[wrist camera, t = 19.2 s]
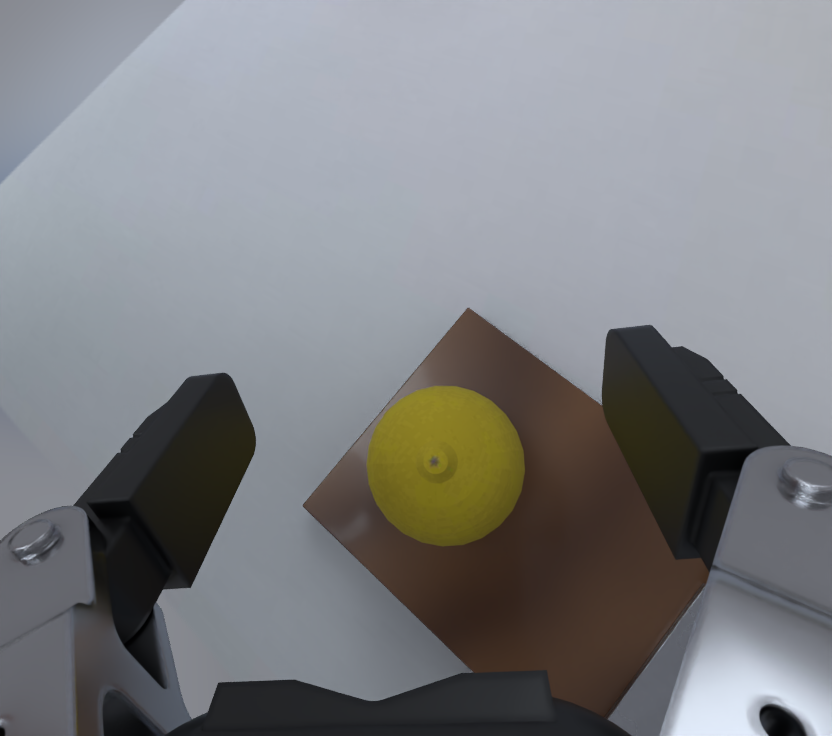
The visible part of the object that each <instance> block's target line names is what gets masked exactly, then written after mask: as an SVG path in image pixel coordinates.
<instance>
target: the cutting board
mask: <svg viewBox="0 0 832 736" xmlns="http://www.w3.org/2000/svg"><path fill="white" fill-rule="evenodd" d="M433 386H457V387H461V388H465V389H468V390H472V391H475V392H477V393H479V394H480V395H482V396H484V397H486V398H488V399H489V400H491V401H492V402H493V403H494V404H495V405H497V406H498V407H499V408H500V409H501V410H502V411H503V412H504V413H505V414H506V415H507V417H508V418H509V420H510V421H511V423H512V424H513V426H514V428H515V429H516V431H517V433H518V436H519V439H520V442H521V445H522V448H523V451H524V464H525V474H524V480H523V485H522V491H521V493H520V496H519V498H518V500H517V502H516V504H515V506H514V509H513V511H512V512H511V513H510V514H509V515H508V516H507V518H506V519H505V520H504V521H503V522H502V524H501V525H500V526H499V527H497V528H496V529H494V530H493V531H492V532H490V533H489V534H487V535H486V536H485V537H483V538H481V539H478V540H475V541H473V542H470V543H467V544H464V545H456V546H437V545H432V544H427V543H422V542H420V541H418V540H416V539H414V538H412V537H410V536H408V535H405V534H403V533H402V532H401V531H400V530H399V529H397V528H396V527H395V526H394V525H393V524H392V523H391V522H389V521H388V520H387V518H386V517H385V516H384V514H383V513H382V511H381V510H380V508H379V507H378V506H377V504H376V502H375V499H374V497H373V494H372V492H371V489H370V486H369V482H368V474H367V456H368V448H369V444H370V441H371V438H372V435H373V433H374V430H375V427H376V426H377V425H378V423H379V422H380V420H381V419H382V417H383V416H384V414H385V413H386V412H387V411H388V410H389V409H390V408H391V407H392V406H393V405H394V404H396V403H397V402H398V401H399V400H400V399H402V398H404V397H405V396H407V395H409V394H411V393H413V392H415V391H417V390H420V389H425V388H429V387H433ZM303 507H304V508H305V509H306V510H307V511H308V512H309V513H310V514H311V515H312V516H313V517H314V518H315V519H316V520H317V521H318V522H319V523H320V524H322V525H323V526H324V527H325V528H326V529H327V530H328V531H329V532H330V533H331V534H332V535H333V536H334V537H335V538H336V539H337V540H338V541H339V542H340V543H341V544H342V545H343V546H344V547H345V548H346V549H347V550H348V551H349V552H350V553H351V554H352V555H353V556H354V557H355V558H356V559H357V560H359V561H360V562H361V563H362V564H363V565H364V566H365V567H366V568H367V569H368V570H369V571H370V572H371V573H372V574H373V575H374V576H375V577H376V578H377V579H378V580H379V581H380V582H381V583H382V584H383V585H384V586H385V587H386V588H387V589H388V590H389V591H390V592H391V593H392V594H393V595H394V596H395V597H397V598H398V599H399V600H400V601H401V602H402V603H403V604H404V605H405V606H406V607H407V608H408V609H409V610H410V611H411V612H412V613H413V614H414V615H415V616H416V617H417V618H418V619H419V620H420V621H421V622H422V623H423V624H424V625H425V626H426V627H427V628H428V629H429V630H430V631H431V632H432V633H434V634H435V635H436V636H437V637H438V638H439V639H440V640H441V641H442V642H443V643H444V644H445V645H446V646H447V647H448V648H449V649H450V650H451V651H452V652H453V653H454V654H455V655H456V656H457V657H458V658H459V659H460V660H461V661H462V662H463V663H464V664H465V665H466V666H467V667H468V668H469V669H471V670H472V671H473V672H474V673H482V672H509V671H535V670H547V674H548V679H549V684H550V689H551V695H552V697H554V698H558V699H562V700H565V701H569V702H572V703H574V704H577V705H579V706H581V707H584V708H586V709H589V710H591V711H593V712H595V713H597V714H599V715H600V716H602V717H605V716H606V714H607V713H608V712H609V710H610V709H611V708H612V706H613V705H614V704H615V702H616V701H617V699H618V698H619V697H620V695H621V694H622V693H623V691H624V690H625V689H626V687H627V686H628V684H629V683H630V682H631V680H632V679H633V678H634V676H635V675H636V674H637V672H638V671H639V669H640V668H641V667H642V665H643V664H644V663H645V661H646V660H647V659H648V657H649V656H650V655H651V653H652V652H653V650H654V649H655V648H656V646H657V645H658V644H659V642H660V641H661V640H662V638H663V637H664V635H665V634H666V633H667V631H668V630H669V629H670V627H671V626H672V625H673V623H674V622H675V620H676V619H677V618H678V616H679V615H680V614H681V612H682V611H683V610H684V608H685V607H686V605H687V604H688V603H689V601H690V600H691V599H692V597H693V596H694V595H695V593H696V592H697V591H698V589H699V588H700V586H701V585H702V584H703V583H704V584H706V583H707V580H708V577H709V571H708V569H707V568H706V566H705V564H704V562H703V560H702V558H695V559H679V560H675V558H674V556H673V554H672V552H671V550H670V548H669V546H668V544H667V542H666V540H665V538H664V536H663V534H662V532H661V530H660V528H659V526H658V524H657V522H656V520H655V518H654V516H653V514H652V512H651V510H650V508H649V506H648V504H647V502H646V500H645V498H644V496H643V494H642V492H641V490H640V488H639V486H638V484H637V482H636V480H635V478H634V476H633V474H632V472H631V470H630V468H629V466H628V464H627V462H626V460H625V458H624V456H623V454H622V452H621V450H620V448H619V446H618V444H617V442H616V440H615V438H614V436H613V434H612V432H611V430H610V428H609V426H608V424H607V421H606V419H605V415H604V411H603V406H602V405H600V404H599V403H598V402H596V401H595V400H593V399H592V398H591V397H589V396H588V395H587V394H585V393H584V392H583V391H581V390H580V389H579V388H577V387H576V386H574V385H573V384H572V383H570V382H569V381H568V380H566V379H565V378H564V377H562V376H561V375H559V374H558V373H557V372H555V371H554V370H553V369H551V368H550V367H549V366H547V365H546V364H545V363H543V362H542V361H540V360H539V359H538V358H536V357H535V356H534V355H532V354H531V353H530V352H528V351H527V350H526V349H524V348H523V347H521V346H520V345H519V344H517V343H516V342H515V341H513V340H512V339H511V338H509V337H508V336H506V335H505V334H504V333H502V332H501V331H500V330H498V329H497V328H496V327H494V326H493V325H492V324H490V323H489V322H487V321H486V320H485V319H483V318H482V317H481V316H479V315H478V314H477V313H475V312H474V311H473V310H471V309H470V308H467V309H466V311H465V312H464V313H463V314H462V315H461V317H460V318H459V319H458V320H457V321H456V323H455V324H454V325H453V326H452V327H451V328H450V330H449V331H448V332H447V333H446V334H445V336H444V337H443V338H442V339H441V340H440V342H439V343H438V344H437V345H436V346H435V348H434V349H433V350H432V351H431V352H430V354H429V355H428V356H427V357H426V358H425V360H424V361H423V362H422V363H421V364H420V366H419V367H418V368H417V369H416V370H415V372H414V373H413V374H412V375H411V376H410V378H409V379H408V380H407V381H406V382H405V383H404V385H403V386H402V387H401V388H400V389H399V391H398V392H397V393H396V394H395V395H394V397H393V398H392V399H391V400H390V401H389V403H388V404H387V405H386V406H385V407H384V409H383V410H382V411H381V412H380V413H379V415H378V416H377V417H376V418H375V419H374V421H373V422H372V423H371V424H370V425H369V427H368V428H367V429H366V430H365V431H364V432H363V434H362V435H361V436H360V437H359V438H358V440H357V441H356V442H355V443H354V444H353V446H352V447H351V448H350V449H349V450H348V452H347V453H346V454H345V455H344V456H343V458H342V459H341V460H340V461H339V462H338V464H337V465H336V466H335V467H334V468H333V470H332V471H331V472H330V473H329V474H328V476H327V477H326V478H325V479H324V480H323V481H322V483H321V484H320V485H319V486H318V487H317V489H316V490H315V491H314V492H313V493H312V495H311V496H310V497H309V498H308V499H307V501H306V502H305V503H304V504H303Z"/></svg>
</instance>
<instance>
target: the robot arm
mask: <svg viewBox="0 0 832 736" xmlns="http://www.w3.org/2000/svg"><path fill="white" fill-rule="evenodd" d="M602 405H603V411H604V415H605V419H606V421H607V424H608V426H609V428H610V430H611V432H612V434H613V436H614V438H615V440H616V442H617V444H618V446H619V448H620V450H621V452H622V454H623V456H624V458H625V460H626V462H627V464H628V466H629V468H630V470H631V472H632V474H633V476H634V478H635V480H636V482H637V484H638V486H639V488H640V490H641V492H642V494H643V496H644V498H645V500H646V502H647V504H648V506H649V508H650V510H651V512H652V514H653V516H654V518H655V520H656V522H657V524H658V526H659V528H660V530H661V532H662V534H663V536H664V538H665V540H666V542H667V544H668V546H669V548H670V550H671V552H672V554H673V556H674V558H675V560H679V559H695V558H702V560H703V562H704V564H705V566H706V568H707V569H708V571H709V577H708V580H707V583H706V586H705V589H704V593H703V596H702V599H701V602H700V606H699V609H698V612H697V615H696V618H695V622H694V625H693V628H692V631H691V635H690V638H689V641H688V644H687V648H686V651H685V654H684V657H683V660H682V664H681V667H680V670H679V673H678V677H677V680H676V683H675V686H674V689H673V693H672V696H671V699H670V702H669V706H668V709H667V712H666V715H665V719H664V722H663V725H662V728H661V731H660V735H659V736H832V456H830V455H828V454H825V453H822V452H819V451H815V450H812V449H807V448H803V447H796V446H791V445H790V444H789V443H788V442H787V441H786V440H785V439H784V438H783V437H782V436H781V435H780V434H779V433H778V432H777V431H776V430H775V429H774V428H773V427H772V426H771V425H770V424H769V423H768V422H767V421H766V420H765V419H764V417H763V416H762V415H761V414H760V413H759V412H758V411H757V410H756V409H755V408H754V407H753V406H752V405H751V404H750V403H749V402H748V401H747V400H746V399H745V398H744V397H743V396H742V395H741V394H738V393H737V389H736V388H735V387H734V386H733V385H732V384H731V383H730V382H729V381H728V380H727V379H726V380H724V378H723V375H722V374H721V373H720V372H719V371H718V370H717V369H716V368H715V367H714V366H713V365H712V364H711V362H710V361H709V360H708V359H706V358H704V357H702V356H700V355H698V354H696V353H694V352H692V351H690V350H688V349H686V348H685V347H683V346H681V347H671V346H670V345H669V344H668V343H667V342H666V340H665V339H664V338H663V337H662V336H661V335H660V334H659V332H658V331H657V330H656V329H655V328H654V327H653V326H651V325H644V326H635V327H627V328H618V329H611V330H609V332H608V334H607V338H606V346H605V359H604V372H603V384H602ZM255 446H256V436H255V431H254V427H253V425H252V422H251V420H250V418H249V416H248V413H247V411H246V409H245V406H244V404H243V402H242V400H241V397H240V395H239V393H238V390H237V388H236V386H235V383H234V381H233V380H232V378H231V377H230V376H229V375H228V374H226V373H216V374H207V375H199V376H191V377H189V378H187V379H186V380H185V381H184V383H183V384H182V385H181V386H180V387H179V389H178V390H177V391H176V392H175V394H174V395H173V396H172V397H171V399H170V400H169V401H168V402H167V403H166V404H164V405H163V406H162V407H160V408H159V409H158V410H156V411H155V412H154V413H152V414H151V415H150V416H148V417H147V418H146V419H145V421H144V422H143V423H142V424H141V425H140V427H139V428H138V429H137V430H136V431H135V432H134V434H133V438H129V440H128V441H127V442H126V443H125V444H124V446H123V447H122V448H121V453H117V454H116V455H115V456H114V458H113V459H112V460H111V461H110V462H109V464H108V465H107V466H106V467H105V468H104V470H103V471H102V472H101V473H100V474H99V476H98V477H97V478H96V479H95V480H94V482H93V483H92V484H91V485H90V486H89V487H88V489H87V490H86V491H85V492H84V493H83V495H82V496H81V497H80V498H79V499H78V501H77V502H76V503H75V504H74V505H73V506H62V507H58V508H54V509H51V510H48V511H45V512H43V513H41V514H39V515H36V516H34V517H32V518H31V519H29V520H27V521H26V522H24V523H22V524H21V525H19V526H18V527H16V528H15V529H13V530H12V531H11V532H10V533H8V534H7V535H6V536H5V537H4V538H3V539H2V540H0V736H632V735H630V734H629V733H628V732H626V731H625V730H623V729H622V728H620V727H619V726H618V725H616V724H615V723H613V722H611V721H609V720H608V719H606V718H604V717H602V716H600V715H599V714H597V713H595V712H593V711H591V710H589V709H586V708H584V707H581V706H579V705H577V704H574V703H572V702H569V701H565V700H562V699H558V698H554V697H552V695H551V689H550V684H549V679H548V674H547V670H535V671H509V672H482V673H461V674H458V675H455V676H452V677H449V678H446V679H443V680H440V681H437V682H434V683H431V684H428V685H425V686H422V687H419V688H416V689H413V690H410V691H407V692H404V693H401V694H398V695H395V696H392V697H390V698H387V699H384V700H380V701H366V700H362V699H359V698H355V697H352V696H349V695H345V694H342V693H338V692H335V691H331V690H328V689H325V688H321V687H318V686H314V685H311V684H307V683H304V682H301V681H297V680H274V681H248V682H222V683H218V685H217V688H216V691H215V694H214V697H213V699H212V702H211V705H210V708H209V711H208V712H207V713H205V714H203V715H201V716H198V717H196V718H194V719H191V717H190V715H189V713H188V711H187V709H186V707H185V704H184V702H183V698H182V695H181V691H180V686H179V682H178V677H177V673H176V668H175V664H174V659H173V655H172V651H171V647H170V641H169V637H168V633H167V628H166V624H165V619H164V615H163V612H162V609H161V608H160V606H159V605H158V604H157V603H156V601H157V599H158V597H159V595H160V594H161V592H162V590H163V589H177V588H191V586H192V584H193V582H194V580H195V577H196V575H197V573H198V571H199V569H200V567H201V565H202V563H203V561H204V558H205V556H206V554H207V552H208V550H209V548H210V546H211V544H212V542H213V539H214V537H215V535H216V533H217V531H218V529H219V527H220V525H221V523H222V520H223V518H224V516H225V514H226V512H227V510H228V508H229V506H230V504H231V501H232V499H233V497H234V495H235V493H236V491H237V489H238V487H239V485H240V482H241V480H242V478H243V476H244V474H245V472H246V470H247V468H248V466H249V463H250V461H251V459H252V457H253V455H254V452H255Z"/></svg>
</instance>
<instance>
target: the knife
mask: <svg viewBox="0 0 832 736" xmlns="http://www.w3.org/2000/svg"><path fill="white" fill-rule="evenodd" d="M705 586H706V584H704V583H703V584H702V585H701V586H700V588H699V589H698V591H697V592H696V593H695V595H694V596H693V597H692V599H691V600H690V601H689V603H688V604H687V605H686V607H685V608H684V610H683V611H682V612H681V614H680V615H679V616H678V618H677V619H676V620H675V622H674V623H673V625H672V626H671V627H670V629H669V630H668V631H667V633H666V634H665V635H664V637H663V638H662V640H661V641H660V642H659V644H658V645H657V646H656V648H655V649H654V650H653V652H652V653H651V655H650V656H649V657H648V659H647V660H646V661H645V663H644V664H643V665H642V667H641V668H640V669H639V671H638V672H637V674H636V675H635V676H634V678H633V679H632V680H631V682H630V683H629V684H628V686H627V687H626V689H625V690H624V691H623V693H622V694H621V695H620V697H619V698H618V699H617V701H616V702H615V704H614V705H613V706H612V708H611V709H610V710H609V712H608V713H607V714H606V716H605V717H604V718H606V719H608V720H609V721H611V722H613V723H615V724H616V725H618V726H619V727H620V728H622V729H623V730H625V731H626V732H628V733H629V734H630V735H632V736H659V735H660V731H661V728H662V725H663V722H664V719H665V715H666V712H667V709H668V706H669V702H670V699H671V696H672V693H673V689H674V686H675V683H676V680H677V677H678V673H679V670H680V667H681V664H682V660H683V657H684V654H685V651H686V648H687V644H688V641H689V638H690V635H691V631H692V628H693V625H694V622H695V618H696V615H697V612H698V609H699V606H700V602H701V599H702V596H703V593H704V589H705Z"/></svg>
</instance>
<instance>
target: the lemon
mask: <svg viewBox="0 0 832 736" xmlns="http://www.w3.org/2000/svg"><path fill="white" fill-rule="evenodd" d="M367 474H368V482H369V486H370V489H371V492H372V494H373V497H374V499H375V502H376V504H377V506H378V507H379V508H380V510H381V511H382V513H383V514H384V516H385V517H386V518H387V520H388V521H389V522H391V523H392V524H393V525H394V526H395V527H396V528H397V529H399V530H400V531H401V532H402V533H403V534H405V535H408V536H410V537H412V538H414V539H416V540H418V541H420V542H422V543H427V544H432V545H437V546H456V545H464V544H467V543H470V542H473V541H475V540H478V539H481V538H483V537H485V536H486V535H487V534H489V533H490V532H492V531H493V530H494V529H496V528H497V527H499V526H500V525H501V524H502V522H503V521H504V520H505V519H506V518H507V516H508V515H509V514H510V513H511V512H512V511H513V509H514V506H515V504H516V502H517V500H518V498H519V496H520V493H521V491H522V485H523V480H524V474H525V464H524V451H523V448H522V445H521V442H520V439H519V436H518V433H517V431H516V429H515V428H514V426H513V424H512V423H511V421H510V420H509V418H508V417H507V415H506V414H505V413H504V412H503V411H502V410H501V409H500V408H499V407H498V406H497V405H495V404H494V403H493V402H492V401H491V400H489V399H488V398H486V397H484V396H482V395H480V394H479V393H477V392H475V391H472V390H468V389H465V388H461V387H457V386H433V387H429V388H425V389H420V390H417V391H415V392H413V393H411V394H409V395H407V396H405V397H404V398H402V399H400V400H399V401H398V402H397V403H396V404H394V405H393V406H392V407H391V408H390V409H389V410H388V411H387V412H386V413H385V414H384V416H383V417H382V419H381V420H380V422H379V423H378V425H377V426H376V427H375V430H374V433H373V435H372V438H371V441H370V444H369V448H368V456H367Z"/></svg>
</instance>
